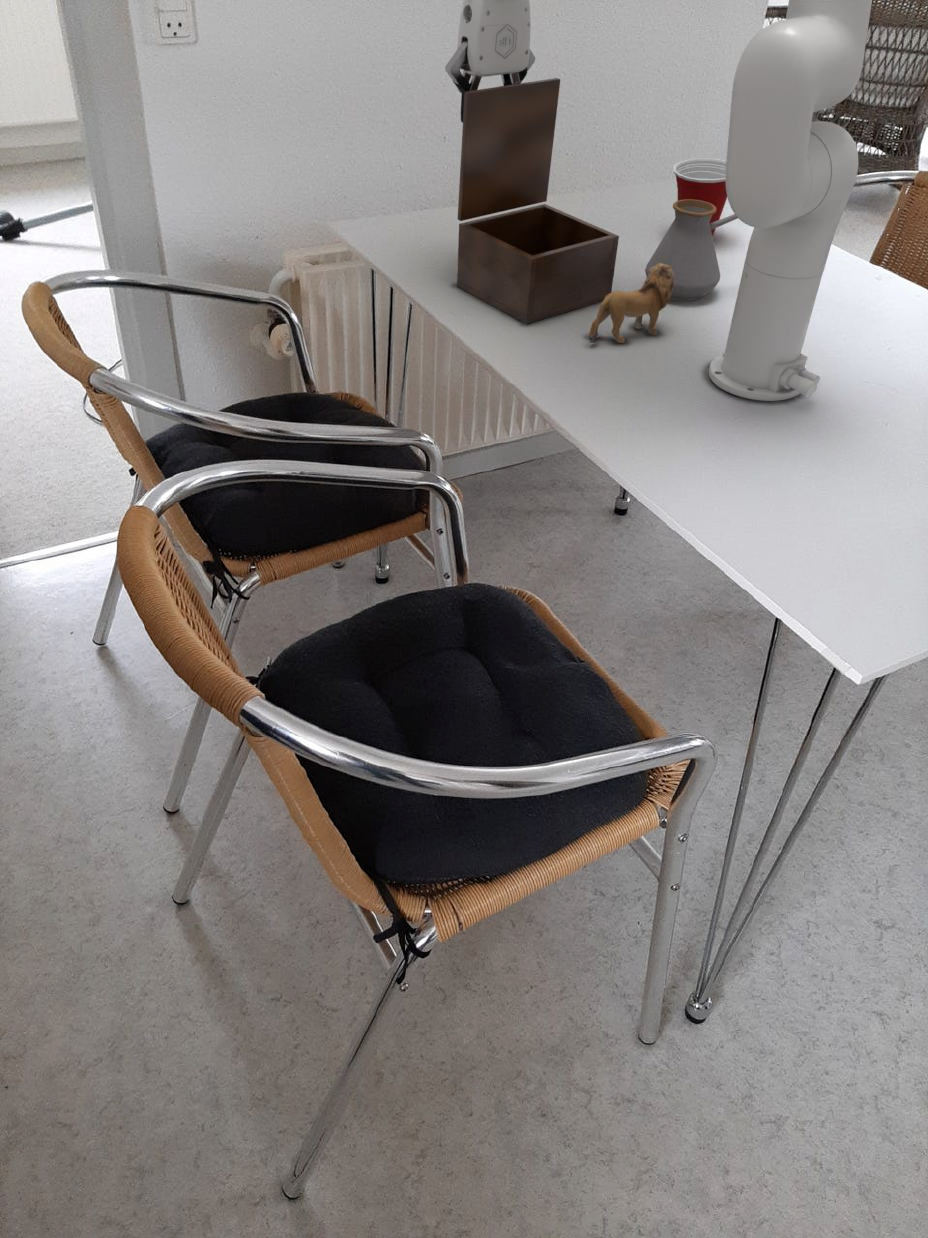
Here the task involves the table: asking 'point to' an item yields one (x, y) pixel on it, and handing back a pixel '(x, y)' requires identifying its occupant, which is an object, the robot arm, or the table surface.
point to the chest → (536, 262)
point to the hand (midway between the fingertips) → (487, 119)
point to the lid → (506, 147)
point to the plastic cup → (702, 182)
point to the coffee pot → (690, 249)
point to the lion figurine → (637, 302)
